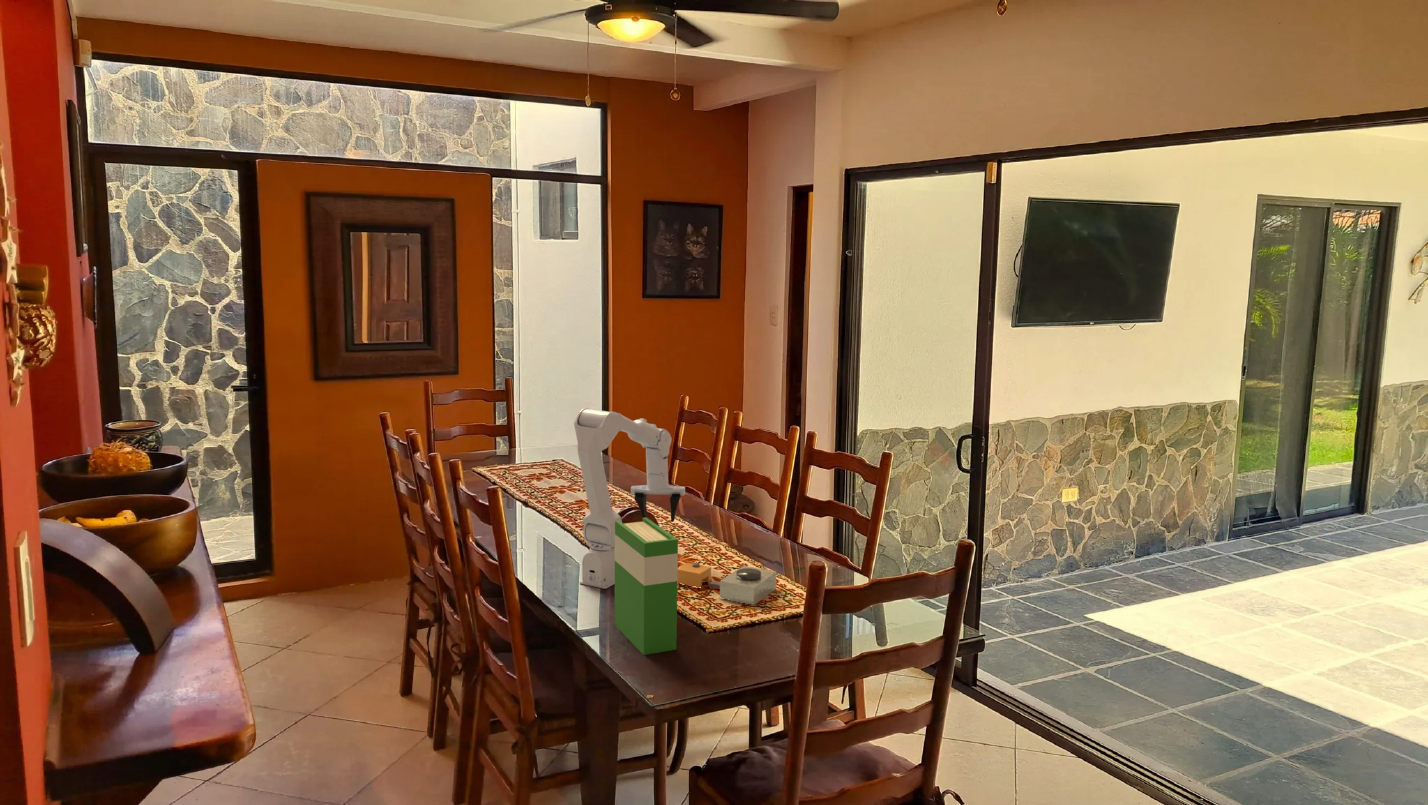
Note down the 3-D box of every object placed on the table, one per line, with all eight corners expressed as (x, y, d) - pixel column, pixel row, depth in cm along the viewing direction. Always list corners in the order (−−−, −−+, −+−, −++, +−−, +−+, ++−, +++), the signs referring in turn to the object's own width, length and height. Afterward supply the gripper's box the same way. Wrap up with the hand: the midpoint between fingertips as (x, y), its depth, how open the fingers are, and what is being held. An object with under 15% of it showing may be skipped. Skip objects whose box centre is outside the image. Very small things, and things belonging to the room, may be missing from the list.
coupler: (753, 605, 229) (754, 583, 228) (697, 594, 236) (698, 572, 235) (775, 589, 240) (776, 568, 239) (722, 578, 247) (722, 558, 246)
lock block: (699, 589, 240) (699, 571, 239) (674, 584, 243) (675, 566, 242) (710, 582, 245) (711, 564, 244) (686, 577, 248) (686, 560, 247)
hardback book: (614, 624, 216) (614, 520, 212) (645, 620, 219) (646, 517, 215) (643, 655, 200) (644, 543, 196) (676, 649, 203) (678, 539, 199)
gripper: (686, 467, 262) (687, 515, 265) (633, 466, 264) (635, 514, 267) (682, 475, 255) (683, 524, 258) (628, 474, 257) (630, 522, 260)
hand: (659, 519), depth 262 cm, fingers open, 7 cm apart
